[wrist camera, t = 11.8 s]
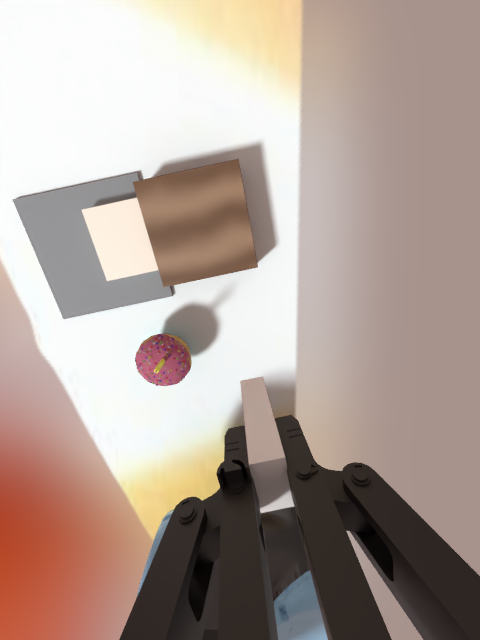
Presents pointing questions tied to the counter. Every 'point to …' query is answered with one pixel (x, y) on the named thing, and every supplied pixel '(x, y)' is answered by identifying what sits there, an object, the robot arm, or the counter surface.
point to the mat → (82, 248)
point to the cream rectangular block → (120, 239)
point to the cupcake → (163, 359)
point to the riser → (197, 222)
